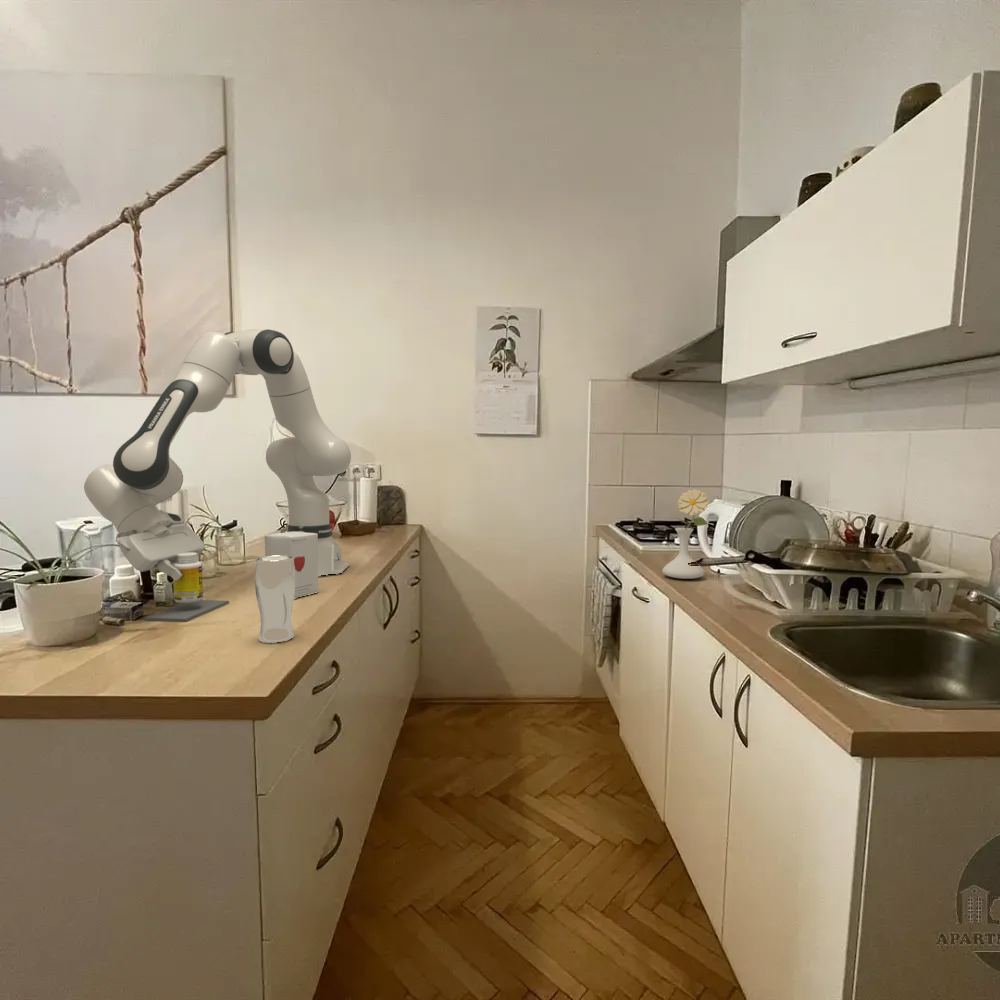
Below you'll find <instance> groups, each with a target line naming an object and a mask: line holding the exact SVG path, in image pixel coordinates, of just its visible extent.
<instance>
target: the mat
mask: <svg viewBox="0 0 1000 1000" xmlns="http://www.w3.org/2000/svg"><path fill="white" fill-rule="evenodd" d="M229 604H230V600H218V599H217V600H216V599H214V600H211V599H209V600H208V599H201V600H200V601H196V602H191V603H179V604H176V605H174V606H171V607H169V608H167V609H164V610H161V611H157V612H155V613H153V614H150V615H148V616H145V617H144V621H146V622H147V621H148V622H149V621H150V622H174V623H175V622H180V623H186V622H189V621H192V620H194V619H195V618H199V617H201V616H203V615H205V614H208V613H210V612H212V611H215V610H217V609H219V608H221V607H223V606H227V605H229Z"/></svg>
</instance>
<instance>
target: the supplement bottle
mask: <svg viewBox="0 0 1000 1000" xmlns="http://www.w3.org/2000/svg"><path fill="white" fill-rule="evenodd" d="M197 560H199V556H198V554H197V553H194V552H189V553H181V554H177V563H173V564H172V566H174V567H175V568H177V569H181V570H182V572H183V573H184V574H185V575H184V576H183V577H182V579H180V580H176V581H175V580H174V579H173V578H172V579H173V600H174V602H176V603H179V604H182V603H191V602H196V601H200V600H203V597H204V594H203V593H204V591H203V590H204V587H203V586H204V585H203V571H202V566H203V563H202V562H201V561H200V560H199V561H197Z"/></svg>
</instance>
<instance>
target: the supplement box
mask: <svg viewBox="0 0 1000 1000" xmlns="http://www.w3.org/2000/svg"><path fill="white" fill-rule="evenodd" d="M271 555H289V556H293V557H294V566H295V594H294V598H297V597H301V596H304V595H308V594H311V593H315V592H318V593H319V576H318V534H316V533H305V532H294V531H293V532H287V531H286V532H277V533H276V532H275V533H269V534H265V535H264V556H271ZM301 598H302V597H301ZM297 599H298V598H297Z"/></svg>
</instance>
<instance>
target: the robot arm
mask: <svg viewBox="0 0 1000 1000" xmlns="http://www.w3.org/2000/svg"><path fill="white" fill-rule="evenodd" d="M235 375H245V376H246V375H247V376H258V375H261V377H263V379H264V380H265V386H266V389H267V393H268V396H269V397H268V398H269V401H270V404H271V407H272V410H273V413H274V418H275V420H276V422H277V423H278V424H279V425H280V427H282V428H284V429H286V430H287V431H288V432H290V433H291V434H292V435H293V436H292V437H284V438H278V439H276V440H273V441H271V442H270V443H269V444H268V446H267V448H266V452H265V462H266V464H267V466H268V468H269V469H270V470H271V472H273V473H274V474H275V475H276V476H277V477H278V478H279V480H280V482H281V484H282V485H283V488H284V491H285V494H286V497H287V506H288V525H287V529H286V532H293V531H294V532H305V533H316V534H318V577H322V576H321V575H326V576H329V575H328V574H336V575H338V574H337V573H342V572H343V571H344V570H345V569H346V568H347V567H348V565H349V566H350V563H349V562H347V561H342V548H341V546H340V545H339V544H338V543H337V542H336V540H335V539H334V538H333V531H334V530H335V523H330V498H329V496H328V494H327V493H326V492H324V490H321V489H320V488H319V487H318V486H317V485H316V482H315V479H314V477H318V476H319V477H331V476H336V475H339V474H343V473H345V472H346V471H347V470H348V469H349V466H350V465H351V461H352V453H351V450H350V447H349V445H348V444H347V442H346V441H344V440H343V439H341V438H340V437H338V436H337V435H335V433H333V432H332V431H331V430H330V429H329V427H328V425H326V423H325V422H324V420H323V419H322V417H321V416H320V413H319V410H318V408H317V404H316V401H315V399H314V395H313V392H312V388H311V384H310V380H309V378H308V375H307V372H306V370H305V367H304V363H302V360H301V358H300V356H299V355H298V353H297V352H296V351H294V349H293V345H292V344H291V341H290V340H289V338H287V336H286V335H285V334H283V333H282V332H280V331H278V330H275V329H255V328H253V329H244V330H240V331H239V330H238V331H228V332H226V333H225V332H224V333H222V332H218V331H207V332H204V333H203V334H202V335H200V337H199V338H198V339H197V340H196V341H195V342H194V344H193V345H192V347H191V348H190V349H189V351H188V352H187V354H186V355H185V358H184V359H183V360H182V363H181V364H180V367H179V368H178V370H177V372H176V374H175V375H174V377H173V379H172V381H171V382H170V383H169V384H168V385H167V387H166V388H165V389H164V391H163V392H162V393H161V395H160V396H159V398H158V400H157V401H156V402H155V405H153V407H152V409H151V411H150V412H149V414H148V415H147V416H146V418H145V419H144V421H143V422H142V424H141V426H140V427H139V429H138V430H137V432H136V433H135V434H133V436H132V437H130V438H128V439H127V441H125V442H124V443H123V444H122V445H121V446H120V447H118V449H117V450H116V452H115V454H114V457H113V459H112V460H113V461H112V464H103V465H100V466H99V467H97V468H95V469H94V470H92V472H91V473H89V474H88V476H87V478H86V479H85V481H84V484H83V490H84V493H85V495H86V497H87V498H88V500H89V502H90V503H91V504H92V506H93V507H94V508H95V510H97V511H98V513H99V514H100V515H101V516H102V517H103V518H104V519H105V520H107V521H109V522H111V523H112V524H113V526H114V527H115V528H114V529H115V530H116V531H117V534H116V537H115V542H116V543H117V545H118V546H119V549H120V551H121V553H122V554H123V556H124V557H125V560H127V561H128V562H129V564H130V565H131V566H132V567H133V568H134V569H135V570H136V571H138V572H141V573H143V572H147V571H151V570H154V569H157V570H159V571H160V572H162V573H164V574H166V575H168V576H170V577H171V578H172V579H174V580H175V581H176V580H180V579H182V577H183V576H184V575H185V574H184V573H183V572H182V570H181V569H177V568H175V567H174V566H173V565H174V564H175V563H178V562H177V554H181V553H189V552H194V553H197V554H198V557H199V556H200V555H201V553H203V551H204V550H205V549H206V546H205V543H204V542H203V540H202V539H201V537H199V536H198V534H196V532H195V531H194V530H193V529H192V528H191V527H190V526H189V525H187V524H184V522H185V519H184V518H183V517H182V516H181V515H180V514H175V513H171V512H167V511H164V510H162V509H159V508H158V507H157V505H159V504H161V503H162V502H164V501H166V500H168V499H170V498H171V497H173V496H174V495H175V494H176V493H178V492H179V491H180V489H181V487H182V485H183V481H184V474H183V471H182V470H181V468H180V466H179V465H178V464H177V463H176V462H175V461H174V460H173V459H172V458H171V457H170V447H171V444H172V442H173V441H174V439H175V438H176V436H177V435H178V432H179V431H180V429H181V428H182V426H183V424H184V422H185V420H186V419H187V418H188V417H189V416H190V415H191V414H192V413H208V412H212V411H214V410H215V409H217V407H218V406H219V405H220V404H221V403H222V401H223V400H224V398H225V397H226V395H227V393H228V391H229V389H230V386H231V384H232V382H233V380H234V377H235ZM197 561H199V562H200V560H199V559H198V560H197ZM348 568H349V567H348ZM348 568H347V569H348ZM347 569H346V570H347ZM204 570H205V569H204V566H203V565H202V572H203V571H204ZM346 570H345V571H346ZM345 571H344V572H345ZM344 572H343V573H344ZM343 573H342V574H343Z"/></svg>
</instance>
